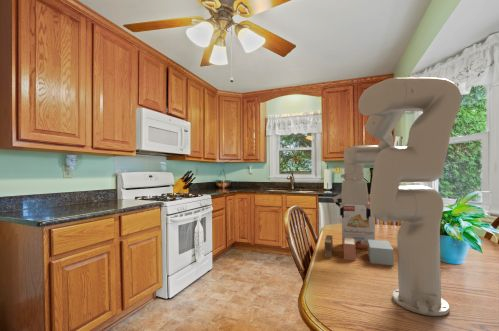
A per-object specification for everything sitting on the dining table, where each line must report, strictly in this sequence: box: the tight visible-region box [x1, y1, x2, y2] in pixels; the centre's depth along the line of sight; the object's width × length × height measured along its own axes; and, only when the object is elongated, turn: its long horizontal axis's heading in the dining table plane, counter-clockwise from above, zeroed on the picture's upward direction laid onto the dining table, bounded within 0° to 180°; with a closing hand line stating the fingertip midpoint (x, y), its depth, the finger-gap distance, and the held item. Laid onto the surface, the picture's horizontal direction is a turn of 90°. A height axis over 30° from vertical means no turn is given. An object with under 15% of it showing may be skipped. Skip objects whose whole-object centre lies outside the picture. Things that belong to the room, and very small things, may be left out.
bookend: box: [324, 234, 334, 259], centre depth 107 cm, size 12×2×6 cm, turn 159°
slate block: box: [367, 239, 395, 266], centre depth 100 cm, size 12×8×6 cm, turn 159°
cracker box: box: [340, 201, 376, 250], centre depth 117 cm, size 14×6×21 cm, turn 73°
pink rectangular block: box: [343, 237, 357, 262], centre depth 104 cm, size 10×4×6 cm, turn 158°
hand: (355, 217), depth 104 cm, fingers open, 9 cm apart
